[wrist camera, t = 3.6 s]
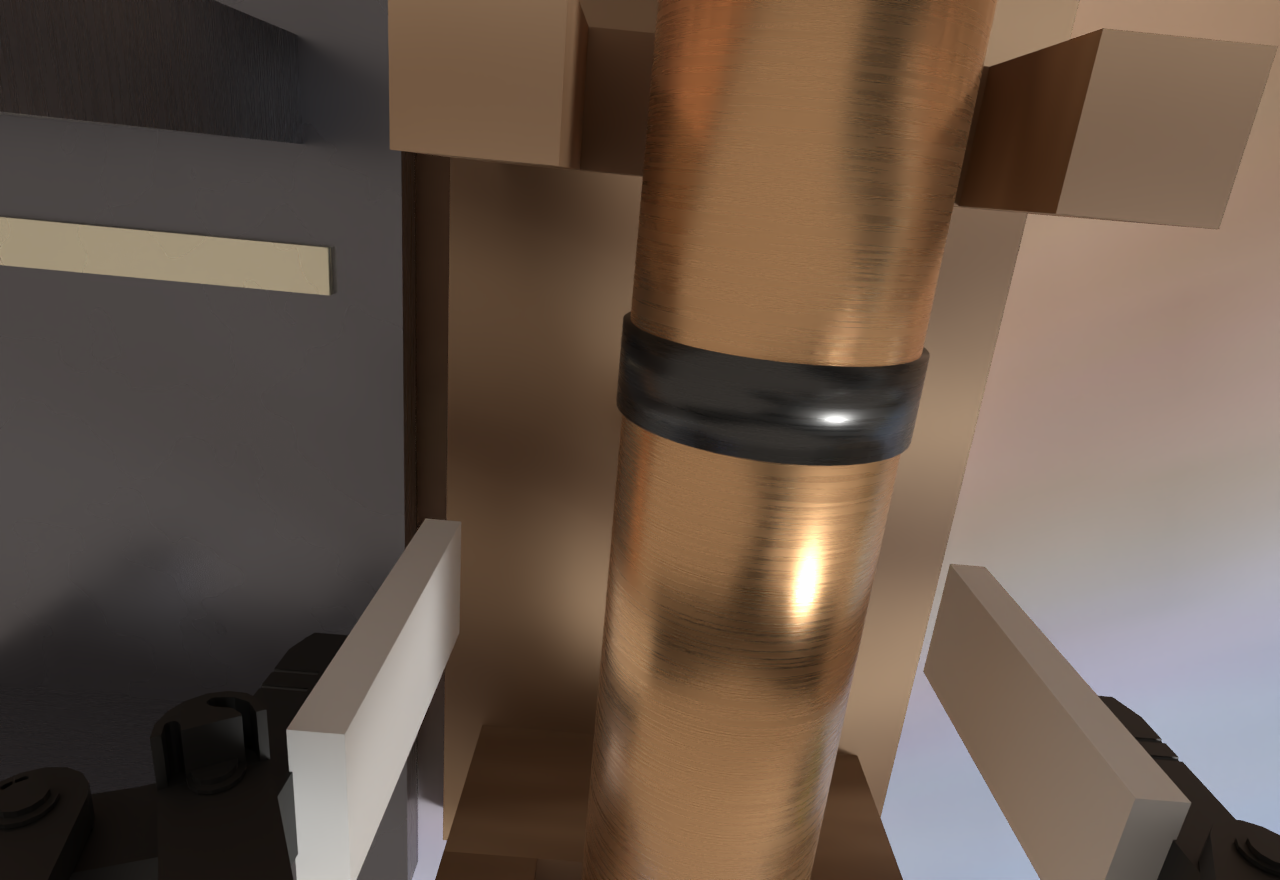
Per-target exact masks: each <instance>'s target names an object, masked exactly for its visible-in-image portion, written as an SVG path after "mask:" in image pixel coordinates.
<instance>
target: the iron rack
mask: <svg viewBox="0 0 1280 880" xmlns="http://www.w3.org/2000/svg"><path fill="white" fill-rule="evenodd" d="M416 532H417V507H416V204H415V153H413V152H405V151H397V150H390V122H389V47H388V0H0V781H3V780H5V779H7V778H10V777H12V776H14V775H17V774H19V773H22V772H26V771H31V770H35V769H40V768H44V767H68V768H71V769H74V770H76V771H79V772H82V773H83V775H84V776H85V778H86V779H87V780H88V782H89V785H90V790H91V794H96V793H102V792H109V791H115V790H121V789H128V788H134V787H140V786H144V785H149V784H153V783H156V780H155V772H154V765H153V758H152V751H151V744H150V736H151V733H152V730H153V727H154V724H155V723H156V722H157V721H158V720H159V719H160V718H161V717H162V716H163V715H164V714H165V713H166V712H167V711H169V710H170V709H172V708H174V707H175V706H177V705H179V704H181V703H182V702H184V701H186V700H189V699H192V698H195V697H198V696H201V695H204V694H207V693H215V692H223V691H235V692H244V693H248V694H250V695H252V696H253V695H254V694H255V693H256V692H257V690H258V689H259V688H260V689H261V688H262V684H263V682H264V681H265V680H266V678H267V677H268V676H269V675H270V673H271V672H274V668H275V667H276V665H277V664H278V663H279V662H280V660H281V659H282V658H283V656H284V655H285V654H286V652H287V651H288V650H289V649H290V648H291V647H293V646H294V645H296V644H297V643H299V642H300V641H302V640H303V639H305V638H307V637H308V636H310V635H311V634H313V633H314V632H315V633H327V634H339V635H349V634H350V632H351V631H352V629H353V628H354V626H355V625H356V623H357V622H358V620H359V619H360V617H361V616H362V614H363V613H364V611H365V609H366V608H367V606H368V605H369V603H370V602H371V600H372V599H373V597H374V596H375V594H376V593H377V591H378V590H379V588H380V587H381V585H382V584H383V582H384V581H385V579H386V578H387V576H388V575H389V573H390V572H391V570H392V569H393V567H394V566H395V564H396V562H397V561H398V559H399V558H400V556H401V555H402V553H403V552H404V550H405V549H406V547H407V546H408V544H409V543H410V541H411V540H412V538H413V537H414V535H415V534H416ZM417 862H418V809H417V736H416V738H415V740H414V743H413V745H412V748H411V750H410V752H409V755H408V757H407V760H406V762H405V764H404V767H403V769H402V772H401V774H400V776H399V779H398V781H397V784H396V786H395V788H394V791H393V793H392V796H391V798H390V800H389V803H388V805H387V808H386V810H385V812H384V815H383V817H382V820H381V822H380V824H379V827H378V829H377V832H376V834H375V836H374V839H373V841H372V844H371V846H370V848H369V851H368V853H367V856H366V858H365V860H364V863H363V865H362V868H361V870H360V872H359V875H358V877H357V880H412V877H413V874H414V871H415V868H416V865H417ZM291 869H292V875H293V880H297V876H296V862H295V861H294V863H293V865H292V866H291Z"/></svg>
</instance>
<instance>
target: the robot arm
mask: <svg viewBox="0 0 1280 880" xmlns="http://www.w3.org/2000/svg"><path fill="white" fill-rule="evenodd" d="M460 570H461V522H460V521H448V520H437V519H425V520H424V522H423V523H422V525H421V526H420V528H419V529H418V531H417V532H416V534H415V535H414V537H413V538H412V540H411V541H410V543H409V544H408V546H407V547H406V549H405V550H404V552H403V553H402V555H401V556H400V558H399V559H398V561H397V562H396V564H395V566H394V567H393V569H392V570H391V572H390V573H389V575H388V576H387V578H386V579H385V581H384V582H383V584H382V585H381V587H380V588H379V590H378V591H377V593H376V594H375V596H374V597H373V599H372V600H371V602H370V603H369V605H368V606H367V608H366V609H365V611H364V613H363V614H362V616H361V617H360V619H359V620H358V622H357V623H356V625H355V626H354V628H353V629H352V631H351V632H350V634H349V635H339V634H327V633H315V632H314V633H313V634H311V635H310V636H308V637H307V638H305V639H303V640H302V641H300V642H299V643H297V644H296V645H294V646H293V647H291V648H290V649H289V650H288V651H287V652H286V654H285V655H284V656H283V658H282V659H281V660H280V662H279V663H278V664H277V665H276V667H275V668H274V672H271V673H270V675H269V676H268V677H267V678H266V680H265V681H264V682H263V684H262V688H261V689H260V688H259V689H258V690H257V692H256V693H255V694H254V695H253V696H252V695H250V694H248V693H244V692H235V691H223V692H215V693H207V694H204V695H201V696H198V697H195V698H192V699H189V700H186V701H184V702H182V703H181V704H179V705H177V706H175V707H174V708H172V709H170V710H169V711H167V712H166V713H165V714H164V715H163V716H162V717H161V718H160V719H159V720H158V721H157V722H156V723H155V724H154V727H153V730H152V733H151V736H150V744H151V751H152V758H153V765H154V772H155V780H156V783H153V784H149V785H144V786H140V787H134V788H128V789H121V790H115V791H109V792H102V793H96V794H91V790H90V785H89V782H88V780H87V779H86V778H85V776H84V775H83V773H82V772H79V771H76V770H74V769H71V768H68V767H44V768H40V769H35V770H31V771H26V772H22V773H19V774H17V775H14V776H12V777H10V778H7V779H5V780H3V781H0V880H293V875H292V869H291V866H292V865H293V863H294V861H295V862H296V876H297V880H357V877H358V875H359V872H360V870H361V868H362V865H363V863H364V860H365V858H366V856H367V853H368V851H369V848H370V846H371V844H372V841H373V839H374V836H375V834H376V832H377V829H378V827H379V824H380V822H381V820H382V817H383V815H384V812H385V810H386V808H387V805H388V803H389V800H390V798H391V796H392V793H393V791H394V788H395V786H396V784H397V781H398V779H399V776H400V774H401V772H402V769H403V767H404V764H405V762H406V760H407V757H408V755H409V752H410V750H411V748H412V745H413V743H414V740H415V738H416V736H417V733H418V731H419V728H420V726H421V724H422V721H423V719H424V716H425V714H426V712H427V709H428V707H429V705H430V702H431V700H432V697H433V695H434V693H435V690H436V688H437V685H438V683H439V681H440V678H441V676H442V673H443V671H444V669H445V666H446V664H447V661H448V659H449V657H450V654H451V652H452V649H453V647H454V645H455V642H456V640H457V637H458V635H459V628H460ZM923 672H924V674H925V675H926V677H927V679H928V681H929V682H930V684H931V686H932V688H933V690H934V691H935V693H936V695H937V697H938V698H939V700H940V702H941V704H942V705H943V707H944V709H945V711H946V713H947V714H948V716H949V718H950V720H951V721H952V723H953V725H954V727H955V729H956V730H957V732H958V734H959V736H960V737H961V739H962V741H963V743H964V745H965V746H966V748H967V750H968V752H969V753H970V755H971V757H972V759H973V761H974V762H975V764H976V766H977V768H978V769H979V771H980V773H981V775H982V777H983V778H984V780H985V782H986V784H987V785H988V787H989V789H990V791H991V793H992V794H993V796H994V798H995V800H996V801H997V803H998V805H999V807H1000V809H1001V810H1002V812H1003V814H1004V816H1005V817H1006V819H1007V821H1008V823H1009V825H1010V826H1011V828H1012V830H1013V832H1014V833H1015V835H1016V837H1017V839H1018V841H1019V842H1020V844H1021V846H1022V848H1023V849H1024V851H1025V853H1026V855H1027V857H1028V858H1029V860H1030V862H1031V864H1032V865H1033V867H1034V869H1035V871H1036V873H1037V874H1038V876H1039V878H1040V880H1280V835H1278V834H1276V833H1274V832H1272V831H1270V830H1268V829H1266V828H1264V827H1262V826H1258V825H1255V824H1251V823H1248V822H1245V821H1241V820H1236V819H1235V818H1234V817H1233V816H1232V815H1231V814H1230V813H1229V812H1228V811H1227V810H1226V809H1225V807H1224V806H1223V805H1222V804H1221V803H1220V802H1219V801H1218V800H1217V799H1216V798H1215V797H1214V796H1213V794H1212V793H1211V792H1210V791H1209V790H1208V789H1207V788H1206V787H1205V786H1204V785H1203V784H1202V782H1201V781H1200V780H1199V779H1198V778H1197V777H1196V776H1195V775H1194V774H1193V773H1192V772H1191V771H1190V769H1189V768H1188V767H1187V766H1186V765H1185V764H1184V763H1183V762H1179V761H1178V756H1177V755H1176V754H1175V753H1174V752H1173V751H1172V750H1171V749H1170V748H1169V747H1168V746H1167V745H1166V744H1165V743H1162V741H1161V740H1162V739H1161V738H1160V737H1159V736H1158V735H1157V734H1156V733H1155V732H1154V730H1153V729H1152V728H1151V727H1150V726H1149V725H1148V724H1147V723H1146V722H1145V721H1144V720H1143V718H1142V717H1140V716H1139V715H1137V714H1136V713H1135V712H1133V711H1132V710H1130V709H1129V708H1127V707H1126V706H1124V705H1123V704H1122V703H1120V702H1119V701H1117V700H1116V699H1114V698H1113V697H1105V696H1097V694H1096V693H1095V692H1094V691H1093V690H1092V689H1091V688H1090V686H1089V685H1088V684H1087V683H1086V682H1085V681H1084V680H1083V678H1082V677H1081V676H1080V675H1079V674H1078V673H1077V672H1076V670H1075V669H1074V668H1073V667H1072V666H1071V665H1070V664H1069V662H1068V661H1067V660H1066V659H1065V658H1064V657H1063V656H1062V654H1061V653H1060V652H1059V651H1058V650H1057V649H1056V648H1055V646H1054V645H1053V644H1052V643H1051V642H1050V641H1049V640H1048V638H1047V637H1046V636H1045V635H1044V634H1043V633H1042V632H1041V630H1040V629H1039V628H1038V627H1037V626H1036V625H1035V624H1034V622H1033V621H1032V620H1031V619H1030V618H1029V617H1028V616H1027V614H1026V613H1025V612H1024V611H1023V610H1022V609H1021V608H1020V606H1019V605H1018V604H1017V603H1016V602H1015V601H1014V600H1013V598H1012V597H1011V596H1010V595H1009V594H1008V593H1007V592H1006V590H1005V589H1004V588H1003V587H1002V586H1001V585H1000V584H999V582H998V581H997V580H996V579H995V578H994V577H993V576H992V574H991V573H990V572H989V571H988V570H987V569H986V568H985V567H979V566H968V565H956V564H950V566H949V570H948V574H947V579H946V583H945V587H944V591H943V595H942V599H941V603H940V607H939V611H938V615H937V619H936V623H935V627H934V631H933V635H932V639H931V643H930V647H929V651H928V655H927V659H926V663H925V667H924V671H923Z"/></svg>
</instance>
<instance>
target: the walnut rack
mask: <svg viewBox="0 0 1280 880" xmlns="http://www.w3.org/2000/svg"><path fill="white" fill-rule="evenodd" d="M1079 1H1080V0H997V5H996V10H995V14H994V19H993V24H992V28H991V33H990V38H989V42H988V47H987V52H986V56H985V61H984V66H983V70H982V75H981V80H980V85H979V89H978V94H977V99H976V103H975V108H974V113H973V117H972V122H971V127H970V131H969V136H968V141H967V145H966V150H965V155H964V160H963V164H962V169H961V174H960V178H959V183H958V188H957V192H956V197H955V202H954V206H953V211H952V216H951V220H950V225H949V230H948V235H947V239H946V244H945V249H944V253H943V258H942V263H941V267H940V272H939V277H938V281H937V286H936V291H935V296H934V300H933V305H932V310H931V314H930V319H929V324H928V328H927V333H926V338H925V342H924V348H926V349H927V350H928V352H929V353H930V358H929V362H928V367H927V372H926V376H925V381H924V385H923V390H922V395H921V399H920V404H919V408H918V413H917V418H916V422H915V427H914V431H913V436H912V441H911V444H910V446H909V447H908V449H907V450H905V451H904V452H903V453H901V455H900V460H899V464H898V469H897V474H896V478H895V483H894V488H893V492H892V497H891V502H890V506H889V511H888V516H887V521H886V525H885V530H884V535H883V539H882V544H881V549H880V553H879V558H878V563H877V567H876V572H875V577H874V582H873V586H872V591H871V596H870V600H869V605H868V610H867V614H866V619H865V624H864V628H863V633H862V638H861V642H860V647H859V652H858V657H857V661H856V666H855V671H854V675H853V680H852V685H851V689H850V694H849V699H848V703H847V708H846V713H845V717H844V722H843V727H842V732H841V736H840V741H839V746H838V750H837V755H836V760H835V764H834V769H833V774H832V778H831V783H830V788H829V792H828V797H827V802H826V807H825V811H824V816H823V821H822V825H821V830H820V835H819V839H818V844H817V849H816V853H815V858H814V863H813V867H812V872H811V877H810V880H903V879H902V876H901V873H900V870H899V868H898V865H897V862H896V859H895V857H894V854H893V851H892V849H891V846H890V843H889V840H888V838H887V835H886V832H885V829H884V827H883V824H882V821H881V818H880V817H881V813H882V809H883V805H884V801H885V797H886V792H887V788H888V784H889V780H890V776H891V772H892V768H893V764H894V760H895V755H896V751H897V747H898V743H899V739H900V735H901V731H902V727H903V723H904V719H905V714H906V710H907V706H908V702H909V698H910V694H911V690H912V686H913V682H914V678H915V673H916V669H917V665H918V661H919V657H920V653H921V649H922V645H923V641H924V637H925V632H926V628H927V624H928V620H929V616H930V612H931V608H932V604H933V600H934V596H935V591H936V587H937V583H938V579H939V575H940V571H941V567H942V563H943V559H944V555H945V550H946V546H947V542H948V538H949V534H950V530H951V526H952V522H953V518H954V514H955V509H956V505H957V501H958V497H959V493H960V489H961V485H962V481H963V477H964V473H965V468H966V464H967V460H968V456H969V452H970V448H971V444H972V440H973V436H974V432H975V427H976V423H977V419H978V415H979V411H980V407H981V403H982V399H983V395H984V391H985V386H986V382H987V378H988V374H989V370H990V366H991V362H992V358H993V354H994V350H995V345H996V341H997V337H998V333H999V329H1000V325H1001V321H1002V317H1003V313H1004V308H1005V304H1006V300H1007V296H1008V292H1009V288H1010V284H1011V280H1012V276H1013V272H1014V267H1015V263H1016V259H1017V255H1018V251H1019V247H1020V243H1021V239H1022V235H1023V231H1024V226H1025V222H1026V218H1027V214H1028V213H1029V214H1040V215H1052V216H1064V217H1076V218H1088V219H1100V220H1112V221H1124V222H1136V223H1148V224H1160V225H1172V226H1184V227H1196V228H1207V229H1219V227H1220V224H1221V221H1222V218H1223V215H1224V212H1225V209H1226V206H1227V203H1228V199H1229V196H1230V193H1231V190H1232V187H1233V184H1234V181H1235V178H1236V175H1237V172H1238V168H1239V165H1240V162H1241V159H1242V156H1243V153H1244V150H1245V147H1246V144H1247V141H1248V138H1249V134H1250V131H1251V128H1252V125H1253V122H1254V119H1255V116H1256V113H1257V110H1258V107H1259V103H1260V100H1261V97H1262V94H1263V91H1264V88H1265V85H1266V82H1267V79H1268V76H1269V73H1270V69H1271V66H1272V63H1273V60H1274V57H1275V54H1276V51H1277V48H1278V46H1271V45H1261V44H1251V43H1242V42H1232V41H1222V40H1212V39H1202V38H1192V37H1182V36H1173V35H1163V34H1153V33H1143V32H1133V31H1123V30H1113V29H1104V28H1103V29H1100V30H1097V31H1094V32H1091V33H1088V34H1085V35H1082V36H1079V37H1076V38H1073V39H1070V38H1071V34H1072V30H1073V26H1074V21H1075V17H1076V13H1077V9H1078V5H1079ZM657 7H658V0H388V47H389V122H390V150H397V151H405V152H413V153H421V154H429V155H437V156H445V157H450V223H449V319H448V415H447V510H446V520H448V521H460V522H461V570H460V628H459V635H458V637H457V640H456V642H455V645H454V647H453V649H452V652H451V654H450V657H449V659H448V661H447V664H446V666H445V702H444V797H443V840H447V843H446V846H445V849H444V853H443V856H442V859H441V862H440V866H439V869H438V872H437V876H436V879H435V880H581V879H582V868H583V856H584V845H585V833H586V822H587V810H588V799H589V788H590V776H591V765H592V753H593V742H594V730H595V719H596V707H597V696H598V684H599V673H600V661H601V650H602V638H603V627H604V615H605V604H606V592H607V581H608V569H609V558H610V546H611V535H612V524H613V512H614V501H615V489H616V478H617V466H618V455H619V443H620V432H621V420H622V413H621V412H620V411H619V409H618V407H617V402H616V398H617V386H618V374H619V362H620V350H621V338H622V326H623V317H624V315H625V314H627V313H628V312H630V311H631V305H632V294H633V283H634V271H635V260H636V248H637V237H638V225H639V214H640V202H641V191H642V179H643V168H644V156H645V145H646V133H647V122H648V110H649V99H650V87H651V76H652V64H653V53H654V41H655V30H656V19H657Z"/></svg>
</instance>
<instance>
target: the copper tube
mask: <svg viewBox="0 0 1280 880" xmlns="http://www.w3.org/2000/svg"><path fill="white" fill-rule="evenodd" d="M996 5H997V0H658V7H657V19H656V30H655V41H654V53H653V64H652V76H651V87H650V99H649V110H648V122H647V133H646V145H645V156H644V168H643V179H642V191H641V202H640V214H639V225H638V237H637V248H636V260H635V271H634V283H633V294H632V305H631V311H630V312H628V313H627V314H625V315H624V317H623V326H622V338H621V350H620V362H619V374H618V386H617V398H616V402H617V407H618V409H619V411H620V412H621V413H622V420H621V432H620V443H619V455H618V466H617V478H616V489H615V501H614V512H613V524H612V535H611V546H610V558H609V569H608V581H607V592H606V604H605V615H604V627H603V638H602V650H601V661H600V673H599V684H598V696H597V707H596V719H595V730H594V742H593V753H592V765H591V776H590V788H589V799H588V810H587V822H586V833H585V845H584V856H583V868H582V879H581V880H810V877H811V872H812V867H813V863H814V858H815V853H816V849H817V844H818V839H819V835H820V830H821V825H822V821H823V816H824V811H825V807H826V802H827V797H828V792H829V788H830V783H831V778H832V774H833V769H834V764H835V760H836V755H837V750H838V746H839V741H840V736H841V732H842V727H843V722H844V717H845V713H846V708H847V703H848V699H849V694H850V689H851V685H852V680H853V675H854V671H855V666H856V661H857V657H858V652H859V647H860V642H861V638H862V633H863V628H864V624H865V619H866V614H867V610H868V605H869V600H870V596H871V591H872V586H873V582H874V577H875V572H876V567H877V563H878V558H879V553H880V549H881V544H882V539H883V535H884V530H885V525H886V521H887V516H888V511H889V506H890V502H891V497H892V492H893V488H894V483H895V478H896V474H897V469H898V464H899V460H900V455H901V453H903V452H904V451H905V450H907V449H908V447H909V446H910V444H911V441H912V436H913V431H914V427H915V422H916V418H917V413H918V408H919V404H920V399H921V395H922V390H923V385H924V381H925V376H926V372H927V367H928V362H929V358H930V353H929V352H928V350H927V349H926V348H924V342H925V338H926V333H927V328H928V324H929V319H930V314H931V310H932V305H933V300H934V296H935V291H936V286H937V281H938V277H939V272H940V267H941V263H942V258H943V253H944V249H945V244H946V239H947V235H948V230H949V225H950V220H951V216H952V211H953V206H954V202H955V197H956V192H957V188H958V183H959V178H960V174H961V169H962V164H963V160H964V155H965V150H966V145H967V141H968V136H969V131H970V127H971V122H972V117H973V113H974V108H975V103H976V99H977V94H978V89H979V85H980V80H981V75H982V70H983V66H984V61H985V56H986V52H987V47H988V42H989V38H990V33H991V28H992V24H993V19H994V14H995V10H996Z"/></svg>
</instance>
